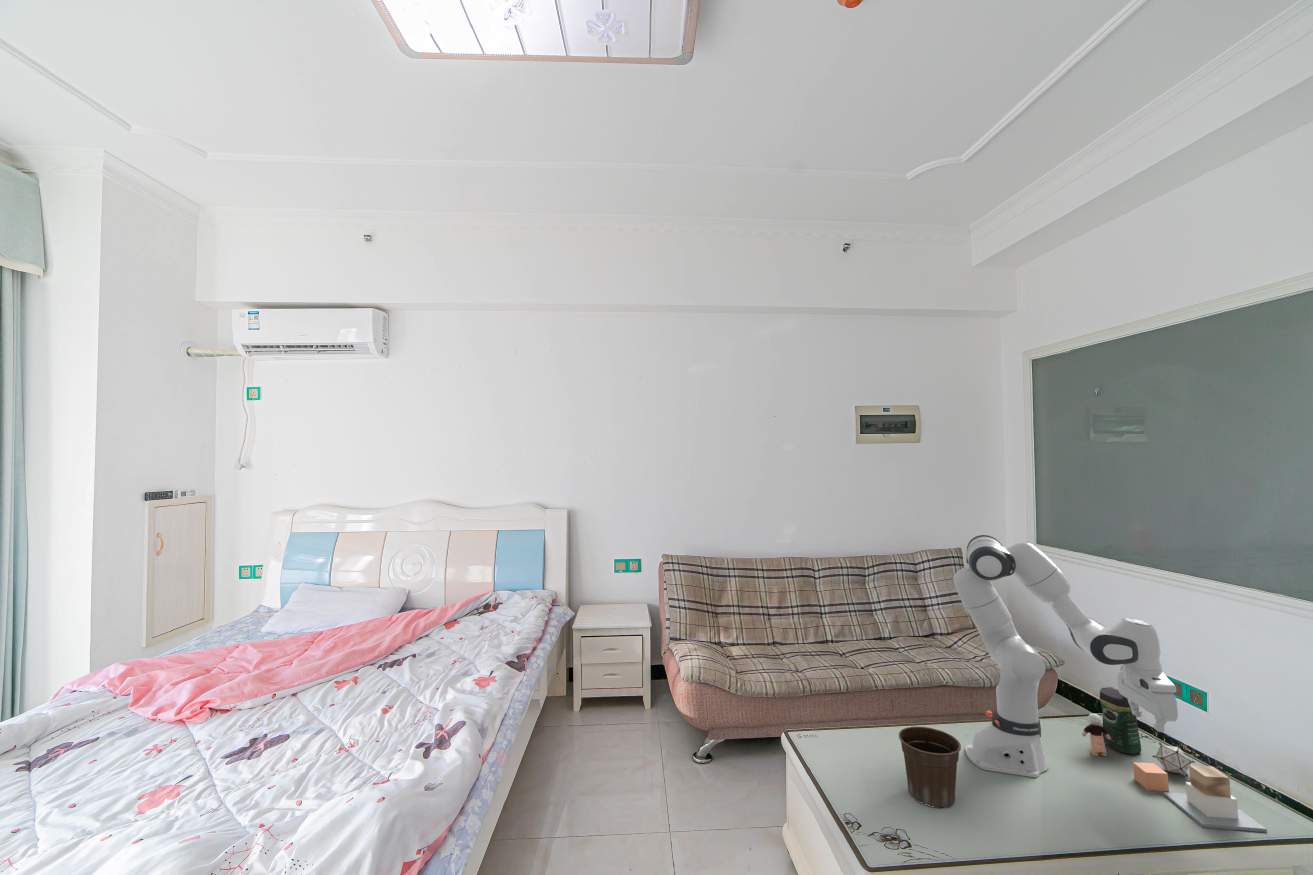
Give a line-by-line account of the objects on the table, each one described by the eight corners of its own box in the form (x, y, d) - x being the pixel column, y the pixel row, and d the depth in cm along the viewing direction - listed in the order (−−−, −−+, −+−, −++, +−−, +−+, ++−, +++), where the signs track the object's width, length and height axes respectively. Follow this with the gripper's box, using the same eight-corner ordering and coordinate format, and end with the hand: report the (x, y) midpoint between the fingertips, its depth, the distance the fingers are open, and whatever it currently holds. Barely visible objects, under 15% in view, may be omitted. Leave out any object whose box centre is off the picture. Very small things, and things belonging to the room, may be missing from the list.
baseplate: (1202, 826, 142) (1200, 803, 142) (1163, 794, 156) (1162, 773, 156) (1266, 831, 139) (1264, 808, 140) (1221, 798, 153) (1219, 777, 153)
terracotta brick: (1147, 789, 158) (1145, 772, 159) (1134, 779, 164) (1133, 762, 164) (1169, 791, 157) (1167, 773, 158) (1155, 780, 163) (1153, 763, 163)
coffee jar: (1147, 753, 177) (1142, 695, 178) (1126, 756, 176) (1121, 697, 177) (1117, 739, 187) (1113, 683, 188) (1097, 741, 185) (1093, 685, 186)
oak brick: (1206, 795, 146) (1205, 776, 146) (1190, 783, 151) (1189, 764, 151) (1230, 797, 145) (1229, 777, 145) (1213, 785, 150) (1212, 766, 150)
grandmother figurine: (1105, 750, 180) (1102, 711, 180) (1114, 756, 176) (1110, 716, 176) (1080, 750, 180) (1077, 710, 181) (1088, 756, 177) (1085, 716, 177)
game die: (1177, 782, 167) (1190, 753, 169) (1191, 787, 160) (1205, 756, 161) (1142, 761, 172) (1156, 733, 173) (1155, 764, 164) (1169, 735, 166)
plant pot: (961, 786, 162) (958, 731, 163) (966, 819, 148) (963, 758, 149) (902, 775, 169) (899, 722, 170) (901, 805, 155) (898, 747, 155)
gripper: (1109, 662, 173) (1113, 707, 172) (1154, 688, 153) (1159, 739, 152) (1131, 662, 172) (1136, 707, 171) (1180, 689, 152) (1186, 740, 151)
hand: (1147, 722), depth 161 cm, fingers open, 8 cm apart
